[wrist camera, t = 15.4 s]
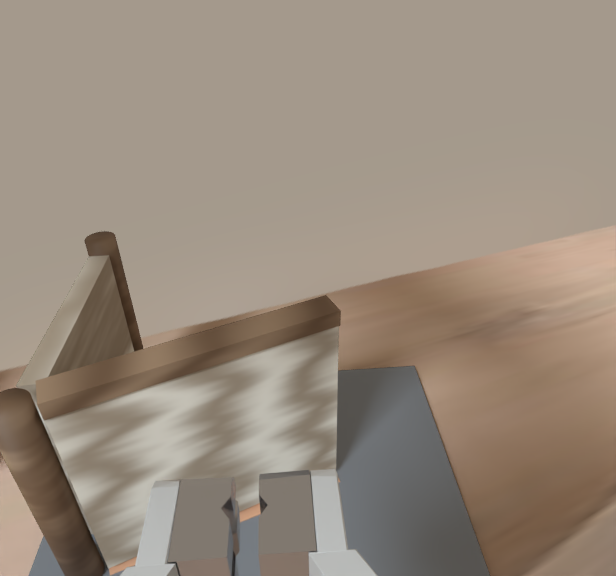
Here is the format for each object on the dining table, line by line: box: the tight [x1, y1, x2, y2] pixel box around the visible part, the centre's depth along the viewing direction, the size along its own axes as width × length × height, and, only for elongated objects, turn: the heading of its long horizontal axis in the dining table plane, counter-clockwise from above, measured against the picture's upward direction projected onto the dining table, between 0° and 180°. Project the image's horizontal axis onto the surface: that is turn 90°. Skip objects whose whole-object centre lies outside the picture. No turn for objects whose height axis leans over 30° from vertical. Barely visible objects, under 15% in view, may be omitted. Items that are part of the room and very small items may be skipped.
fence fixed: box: [0, 232, 143, 576], centre depth 40 cm, size 2×21×17 cm, turn 4°
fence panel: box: [36, 295, 340, 569], centre depth 35 cm, size 18×2×16 cm, turn 116°
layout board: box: [29, 366, 490, 576], centre depth 39 cm, size 32×34×1 cm
